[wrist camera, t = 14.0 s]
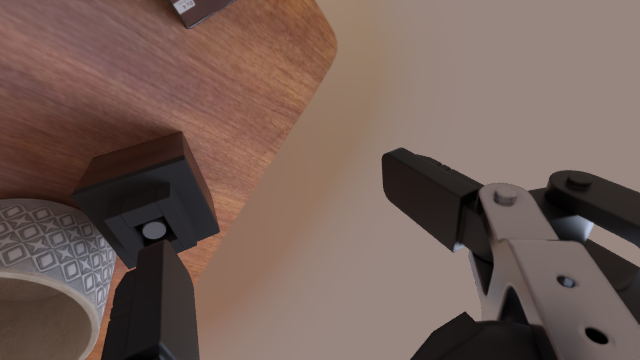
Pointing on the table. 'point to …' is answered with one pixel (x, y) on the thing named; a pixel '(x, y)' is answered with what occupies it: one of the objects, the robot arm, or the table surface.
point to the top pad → (146, 207)
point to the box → (197, 10)
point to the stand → (144, 162)
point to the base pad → (120, 187)
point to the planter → (51, 281)
